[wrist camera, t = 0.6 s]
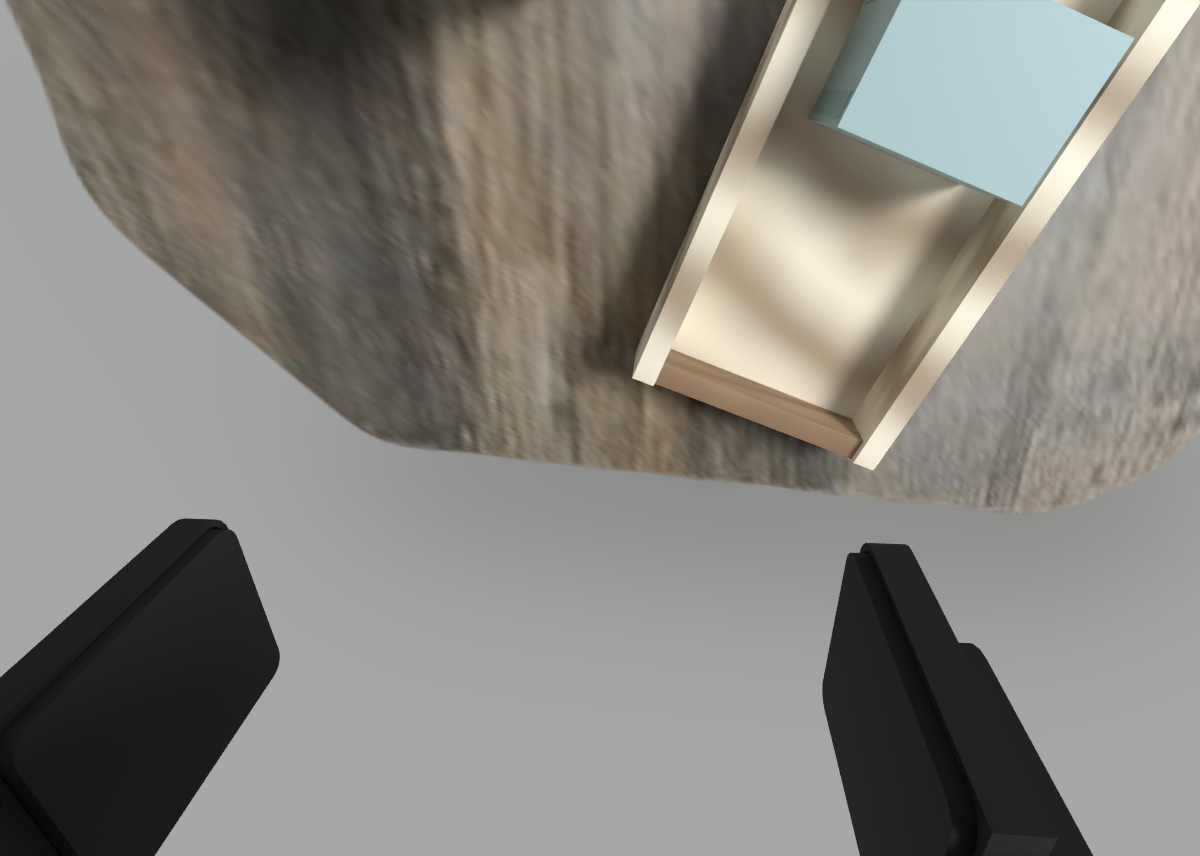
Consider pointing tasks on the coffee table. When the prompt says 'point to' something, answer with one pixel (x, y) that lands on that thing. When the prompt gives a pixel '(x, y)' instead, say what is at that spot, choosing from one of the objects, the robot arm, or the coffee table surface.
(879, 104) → the light blue block
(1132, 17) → the bay
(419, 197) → the coffee table surface
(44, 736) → the robot arm
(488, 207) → the coffee table surface
